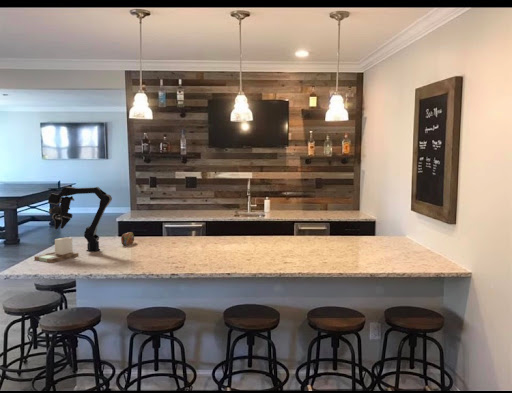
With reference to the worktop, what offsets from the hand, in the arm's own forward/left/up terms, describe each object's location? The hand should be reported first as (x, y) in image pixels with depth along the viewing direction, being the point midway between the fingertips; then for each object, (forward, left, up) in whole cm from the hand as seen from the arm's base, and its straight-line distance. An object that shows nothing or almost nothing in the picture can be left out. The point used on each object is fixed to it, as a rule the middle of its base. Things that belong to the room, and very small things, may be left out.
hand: (58, 228), depth 280 cm
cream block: (-9, +6, -14) cm, 17 cm away
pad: (-7, +18, -16) cm, 25 cm away
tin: (-26, -38, -16) cm, 49 cm away
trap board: (-8, +12, -16) cm, 21 cm away
